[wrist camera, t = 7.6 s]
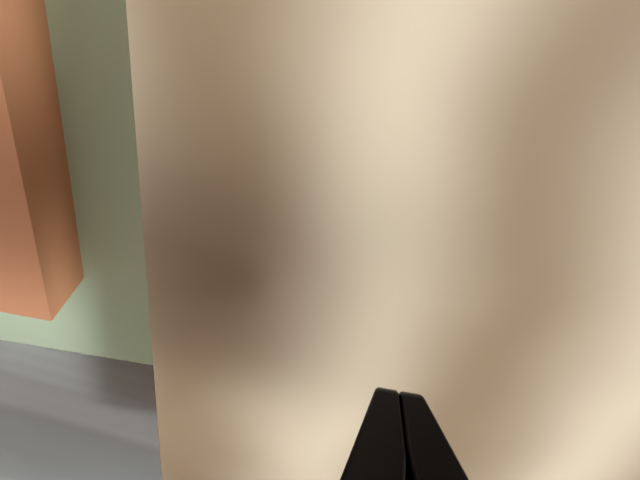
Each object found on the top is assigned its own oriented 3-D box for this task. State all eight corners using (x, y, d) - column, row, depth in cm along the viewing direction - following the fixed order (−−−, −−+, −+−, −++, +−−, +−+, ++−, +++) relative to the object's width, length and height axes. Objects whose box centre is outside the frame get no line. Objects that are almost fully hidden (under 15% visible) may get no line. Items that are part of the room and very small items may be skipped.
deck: (1208, -254, 8) (1807, -356, 5) (578, 477, 21) (617, 588, 17) (202, -446, 8) (72, -699, 4) (197, 414, 20) (164, 513, 17)
